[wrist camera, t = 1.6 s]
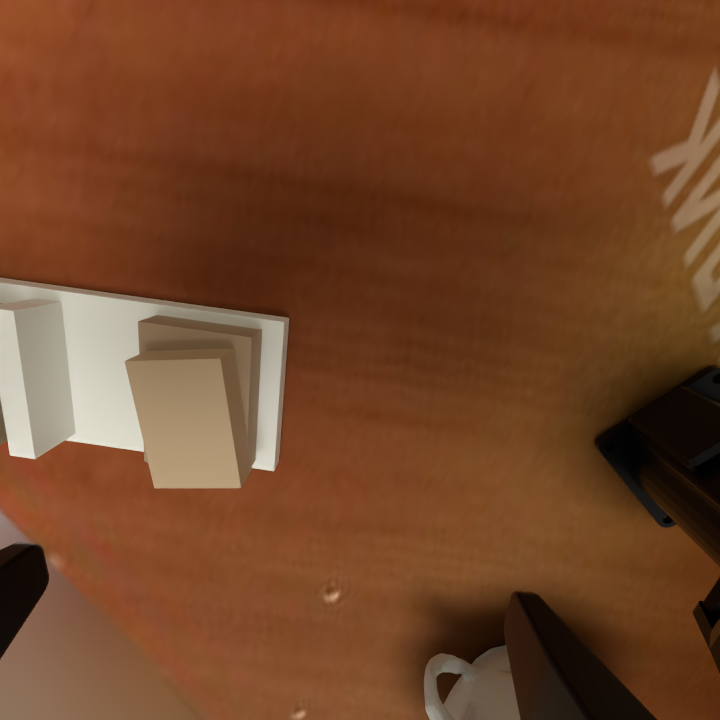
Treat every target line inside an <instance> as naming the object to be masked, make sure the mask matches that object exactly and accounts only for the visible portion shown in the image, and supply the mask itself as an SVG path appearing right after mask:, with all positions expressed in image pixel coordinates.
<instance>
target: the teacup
mask: <svg viewBox="0 0 720 720" xmlns="http://www.w3.org/2000/svg"><path fill="white" fill-rule="evenodd" d="M442 672H451V673H454V674H462V676H461V677H460V678H459V679H458V681H457V682H456V684H455V685H454V687H453V688H452V690H451V691H450V693H449V695H448V697H447V699H446V701H445V703H444V705H443V704H442V702H441V700H440V698H439V695H438V690H437V681H436V677H437V676H438V675H439V674H440V673H442ZM424 696H425V709H426V712H427V714H428V717H429V719H430V720H520V715H519V710H518V705H517V700H516V694H515V689H514V684H513V679H512V673H511V668H510V663H509V658H508V652H507V647H506V645H504V646H500V647H495V648H491V649H489V650H488V651H486V652H485V653H483V654H482V655H480V656H479V657H478V658H477V659H476V660H475V661H474V662H473V663H472V664H469V663H467V662H466V661H465V660H463V659H460V658H457V657H456V656H454V655H449V654H443V653H441V654H438V655H436V656H434V657H432V658H431V659H430V660H429V662H428V664H427V666H426V668H425V675H424Z"/></svg>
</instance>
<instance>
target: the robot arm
mask: <svg viewBox="0 0 720 720" xmlns="http://www.w3.org/2000/svg"><path fill="white" fill-rule="evenodd" d="M716 374H717V377H716V378H715V379H714V380H712V378H713V376H714V375H716ZM609 442H611V444H610V445H609V446H608V447H605V445H606V444H607V443H609ZM595 446H596V448H597V450H598V451H599V452H600V453H601V454H602V456H603V457H604V458H605V459H606V461H607V462H608V463H609V464H610V466H611V467H612V468H613V469H614V471H615V472H616V473H617V474H618V475H619V477H620V478H621V479H622V480H623V482H624V483H625V484H626V485H627V487H628V488H629V489H630V490H631V491H632V493H633V494H634V495H635V496H636V498H637V499H638V500H639V501H640V503H641V504H642V505H643V506H644V507H645V509H646V510H647V511H648V512H649V514H650V515H651V516H652V517H653V519H654V520H655V521H656V522H657V523H658V524H659V525H660V526H662V527H665V528H666V527H671V526H674V525H676V524H677V525H678V526H679V527H680V528H681V529H682V530H683V531H684V532H685V533H686V534H687V535H688V536H689V537H690V538H691V539H692V540H693V541H695V542H696V543H697V544H698V545H699V546H700V547H701V548H702V549H703V550H704V551H705V552H706V553H707V554H708V555H709V556H710V557H711V558H712V559H713V560H714V561H715V562H716V563H717V564H718V565H719V566H720V367H718V366H709V367H707V368H705V369H704V370H702V371H701V372H699V373H697V374H696V375H694V376H693V377H691V378H690V379H688V380H686V381H685V382H683V383H682V384H680V385H679V386H677V387H675V388H674V389H672V390H671V391H669V392H668V393H666V394H665V395H663V396H661V397H660V398H658V399H657V400H655V401H654V402H652V403H650V404H649V405H647V406H646V407H644V408H643V409H641V410H640V411H638V412H636V413H635V414H633V415H632V416H630V417H629V418H627V419H626V420H624V421H622V422H621V423H619V424H618V425H616V426H615V427H613V428H612V429H610V430H608V431H607V432H605V433H604V434H602V435H601V436H599V437H598V438H597V440H596V442H595ZM665 516H667V517H666V518H664V517H665ZM48 581H49V574H48V569H47V564H46V559H45V555H44V550H43V548H42V547H41V546H40V545H39V544H33V543H22V542H21V543H15V544H12V545H10V546H8V547H6V548H3V549H1V550H0V659H1V657H2V656H3V654H4V653H5V651H6V650H7V648H8V647H9V645H10V643H11V642H12V640H13V639H14V638H15V636H16V634H17V633H18V631H19V630H20V628H21V627H22V625H23V624H24V622H25V621H26V619H27V618H28V616H29V614H30V613H31V611H32V610H33V608H34V607H35V605H36V604H37V602H38V601H39V599H40V598H41V596H42V595H43V593H44V591H45V590H46V587H47V585H48ZM693 615H694V617H695V619H696V621H697V623H698V625H699V628H700V630H701V632H702V634H703V636H704V638H705V641H706V643H707V645H708V647H709V649H710V651H711V654H712V656H713V658H714V661H715V663H716V665H717V668H718V670H719V673H720V577H719V578H718V580H717V582H716V583H715V585H714V586H713V588H712V589H711V591H710V592H709V594H708V595H707V597H706V598H705V600H704V601H699V603H698V604H697V606H696V607H695V609H694V610H693ZM504 636H505V642H506V647H507V652H508V658H509V663H510V668H511V673H512V679H513V684H514V689H515V694H516V700H517V705H518V710H519V715H520V720H657V719H656V718H655V717H654V716H653V715H652V714H651V713H650V712H649V711H648V710H647V709H646V708H645V707H644V706H643V705H642V703H641V702H640V701H639V700H638V699H637V698H636V697H635V696H634V695H633V694H632V693H631V692H630V691H629V690H628V689H627V688H626V687H625V686H624V685H623V684H622V682H621V681H620V680H619V679H618V678H617V677H616V676H615V675H614V674H613V673H612V672H611V671H610V670H609V669H608V668H607V667H606V666H605V665H604V664H603V662H602V661H601V660H600V659H599V658H598V657H597V656H596V655H595V654H594V653H593V652H592V651H591V650H590V649H589V648H588V647H587V646H586V645H585V644H584V643H583V641H582V640H581V639H580V638H579V637H578V636H577V635H576V634H575V633H574V632H573V631H572V630H571V629H570V628H569V627H568V626H567V625H566V624H565V623H564V621H563V620H562V619H561V618H560V617H559V616H558V615H557V614H556V613H555V612H554V611H553V610H552V609H551V608H550V607H549V606H548V605H547V604H546V603H545V602H544V600H543V599H542V598H541V597H540V596H538V595H537V594H536V593H533V592H523V591H514V592H513V593H512V595H511V598H510V602H509V606H508V610H507V614H506V618H505V622H504Z"/></svg>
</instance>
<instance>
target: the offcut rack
mask: <svg viewBox="0 0 720 720" xmlns="http://www.w3.org/2000/svg"><path fill="white" fill-rule="evenodd" d="M0 303H3V304H0V398H1V404H2V410H3V416H4V422H5V428H6V434H7V440H8V446H9V452H10V455H11V456H18V457H24V458H31V459H36V458H38V457H39V456H41V455H42V454H44V453H45V452H47V451H49V450H50V449H52V448H53V447H55V446H57V445H58V444H60V443H61V442H63V441H64V440H68V441H75V442H81V443H88V444H95V445H102V446H108V447H115V448H122V449H129V450H135V451H142V452H144V461H145V462H148V463H149V467H150V471H151V476H152V480H153V484H154V488H241V487H242V486H243V484H244V482H245V480H246V479H247V477H248V475H249V473H250V472H251V470H252V468H256V469H263V470H270V471H274V470H275V468H276V466H277V464H278V462H279V453H280V440H281V426H282V412H283V399H284V385H285V371H286V357H287V344H288V330H289V318H287V317H280V316H273V315H266V314H259V313H251V312H244V311H237V310H230V309H223V308H215V307H208V306H201V305H194V304H187V303H180V302H172V301H165V300H158V299H151V298H144V297H136V296H129V295H122V294H115V293H108V292H101V291H93V290H86V289H79V288H72V287H65V286H57V285H50V284H43V283H36V282H29V281H22V280H14V279H7V278H0Z"/></svg>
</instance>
